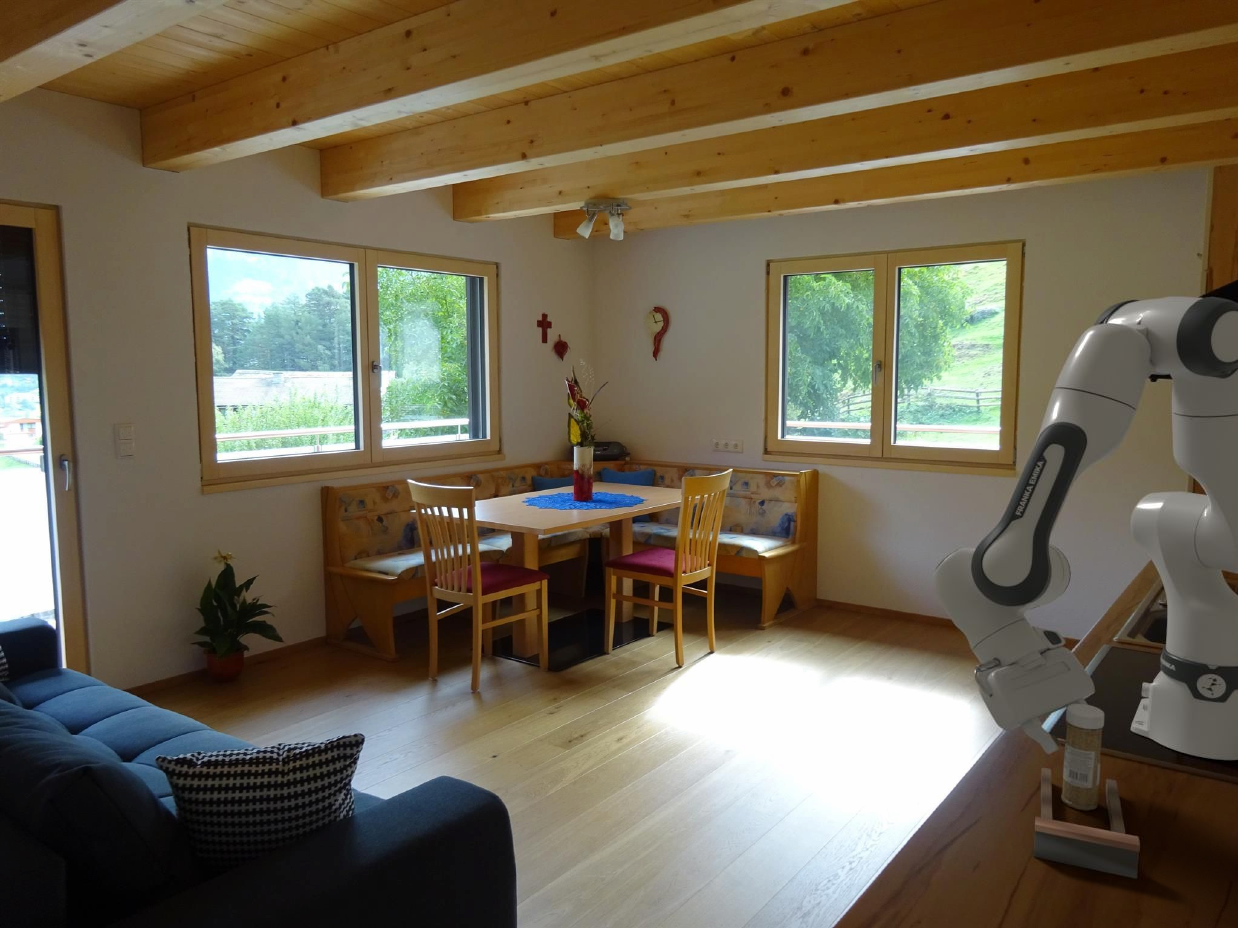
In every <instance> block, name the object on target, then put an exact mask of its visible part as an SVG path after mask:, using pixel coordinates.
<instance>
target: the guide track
mask: <svg viewBox="0 0 1238 928" xmlns="http://www.w3.org/2000/svg"><path fill="white" fill-rule="evenodd" d="M1117 783H1118V782H1117V780H1115V779H1110V778H1106V780H1105V798H1106V805H1107V806H1106V807H1107V813H1108V821H1109V826H1110V830H1105V829H1102V828H1101V829H1100V828H1096V827H1091V826H1087V825H1081V824H1080V825H1079V824H1075V823H1071V822H1065V821H1062V820H1055V819H1053V803H1052V802H1053V798H1052V793H1053V792H1052V789H1053V788H1052V769H1051V768H1046V767H1041V771H1040V816H1035V818H1034V819H1035V820H1034V840H1033V841H1034V842H1033V843H1034V844H1033V857H1034V858H1038V859H1043V860H1047V861H1052V862H1056V863H1061V864H1065V865H1070V866H1075V867H1080V868H1083V869H1084V868H1085V869H1090V870H1095V871H1099V872H1103V873H1108V874H1114V875H1117V876H1122V877H1128V878H1131V879H1135V880H1137V879H1138V870H1139V869H1138V867H1139V858H1140V857H1139V856H1140V850H1141V844H1140V838H1139V836H1137V835H1132V834H1126V828H1125V823H1124V817H1123V812H1122V806H1121V799H1120V794H1119V790H1118V784H1117Z"/></svg>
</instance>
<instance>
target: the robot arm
mask: <svg viewBox="0 0 1238 928" xmlns="http://www.w3.org/2000/svg"><path fill="white" fill-rule="evenodd" d="M1151 375H1160V376H1165V375H1170V377H1171V379H1172V389H1171V390H1172V391H1171V427H1172V432H1171V433H1172V454H1173V458H1174V460H1175V463H1176V464H1177V465H1178V467H1179V468H1180V470H1183V472H1185V473H1186V474H1188V475H1189V476H1191V477H1192V478H1193V479H1194V480H1195V481H1197V483H1198V484H1199V485H1200V486H1201V488H1202V489H1203V490H1204V492H1205V494H1201V493H1195V492H1194V493H1193V492H1189V491H1179V490H1178V491H1160V492H1159V491H1158V492H1150V493H1148V494H1147V495H1145V496H1144V497H1142V498H1141V499H1140V500H1139V501H1138V502H1137V503H1136V504H1135V507H1134V509H1133V511H1132V513H1131V516H1130V522H1129V523H1130V531H1131V535H1132V538H1133V539H1134V541H1135V543H1136V544H1137V545H1138V547H1140V548H1141V549H1142V550H1143V551H1144V553H1146V555H1148V557H1149V558H1150V560H1151V561H1152V563H1153V565H1154V566H1155V569H1156V570H1157V572H1158V574H1159V577H1160V579H1161V581H1162V585H1163V588H1164V591H1165V596H1166V603H1167V618H1166V619H1167V621H1166V623H1167V625H1166V641H1165V643H1166V644H1165V646H1163V648H1162V653H1161V655H1160V664H1159V665H1160V671H1159V673H1158V674H1157V675H1156V676H1155V678H1154V679H1153V682H1152V683H1150V682H1142V687H1141V697H1144V698H1142V699H1141V700H1140V703H1139V705H1138V708H1137V709H1136V713H1135V715H1134V718H1133V720H1132V722H1131V726H1130V731H1131V732H1133V733H1135V734H1137V735H1140V736H1144V737H1146V738H1149V739H1151V740H1153V741H1154V742H1156V743H1157V744H1160V745H1162V746H1163V747H1167V748H1169V749H1171V750H1174V751H1177V752H1179V753H1184V754H1186V755H1187V754H1188V755H1190V756H1194V757H1201V758H1206V759H1211V760H1222V761H1235V760H1236V761H1237V760H1238V594H1236V593H1235V592H1234V590H1232V588H1231V587H1230V586H1229V585H1228V583H1227V582H1226V579H1225V577H1224V575H1223V571H1225V572H1228V573H1234V574H1238V302H1236V301H1233V300H1231V299H1227V298H1222V297H1216V296H1209V297H1208V296H1206V297H1196V296H1184V295H1183V296H1181V295H1180V296H1179V295H1178V296H1176V295H1175V296H1173V295H1172V296H1169V295H1168V296H1164V297H1161V298H1148V299H1142V300H1139V299H1129V300H1125V301H1122V302H1118V303H1115V304H1113V305H1110V306H1109V307H1107V308H1106V309H1105V310H1104V311H1103V312H1102V313H1101V314H1100V315H1099V316H1098V318H1097V320H1096V321H1095V323H1094V324H1093V325H1092V326H1091V327H1089V328H1087V329H1086V330H1085V331H1084V332H1083V333H1081V335H1080V336H1079V338H1078V339H1077V341H1076V343H1075V345H1074V346H1073V348H1072V350H1071V351H1070V353H1069V355H1068V357H1067V359H1066V361H1065V362H1064V364H1063V367H1062V368H1061V371H1060V373H1059V375H1058V378H1057V380H1056V382H1055V385H1054V388H1053V391H1052V392H1051V396H1050V399H1049V401H1048V404H1047V407H1046V411H1045V413H1044V415H1043V420H1042V423H1041V426H1040V430H1039V432H1038V435H1037V437H1036V440H1035V443H1034V446H1033V450H1032V452H1031V453H1030V455H1029V458H1028V459H1027V462H1026V464H1025V465H1024V468H1023V469H1022V470H1023V471H1022V473H1021V475H1020V477H1019V480H1018V482H1017V484H1016V487H1015V489H1014V491H1013V493H1012V496H1011V497H1010V500H1009V503H1008V504H1007V507H1006V509H1005V511H1004V513H1003V514H1002V517H1001V519H1000V521H998V523H997V525H996V526H995V527H994V528H993V529H992V530H991V531H990V532H989V533H988V534H987V535H986V536H985V537H984V538H983V539H982V540H981V541H980V543H979V544H978V545H977V546H976V548H975V547H960V548H957V549H956V550H954V551H953V552H951V553H949V554H948V555H946V557H944V558H943V559H942V560H941V561H940V563H938V565H937V566H936V568H935V570H934V571H933V574H932V578H931V580H932V585H933V589H934V590H935V591H934V592H935V593H936V595H937V597H938V600H939V601H940V603H941V605H942V606H943V608H944V610H945V612H946V613H947V614H948V617H950V619H951V621H952V622H953V624H954V625H955V627H957V628H958V630H960V631H961V632H962V633H963V634H964V635H965V637H966V639H967V641H968V644H969V647H970V650H972V652H973V653H974V655H975V656H976V658H977V659H978V661H979V662H980V663H978V664H976V665H975V667H974V671H973V672H974V673H973V674H974V676H973V678H974V680H975V683H976V684H977V686H978V687H977V688H978V692H979V694H980V697H981V698H982V701H983V702H984V704H985V706H986V708H987V710H988V712H989V713H990V715H991V716H992V719H993V720H994V722H995V723H996V725H997V726H998V727H999V728H1001V729H1002V730H1003V731H1005V732H1009V731H1012V730H1014V729H1017V728H1019V727H1021V728H1022V730H1023V731H1024V733H1025V734H1026V735H1027V736H1029V737H1030V738H1031V739H1033V740H1035V742H1037V743H1038V744H1039V745H1040V746H1041V747H1042V749H1043V751H1044V752H1045V753H1046V754H1047V755H1050V754H1052V753H1055V752H1057V751H1058V750H1060V749H1061V748H1062V747H1063V745H1062V744H1061V742H1060V741H1059V739H1058V737H1057V736H1056V734H1054V735H1051V734H1050V733H1049V732H1048V731H1047V730H1046V729H1045V728H1044V727H1043V726H1042V725H1043V723H1042V721H1041V720H1040V719H1041V718H1043V717H1045V716H1048V715H1050V714H1053V713H1055V712H1058V711H1060V710H1063V709H1065V708H1067V707H1068V706H1069V705H1072V704H1085V705H1089V704H1088V703H1087V701H1086V700H1085V699H1087V698H1088V697H1090V696H1091V695H1093V694H1094V693H1095V692H1096V690H1095V685H1094V681H1093V679H1092V678H1091V677H1090V674H1089V673H1088V672H1087V671H1086V669H1085V667H1084V666H1083V665H1082V663H1081V662H1080V661H1079V659H1078V658H1077V656H1076V655H1075V654H1074V653H1073V652H1072V650H1070V649H1069V648H1066V647H1065V646H1063V645H1065V644H1066V640H1065V638H1064V637H1063V635H1062V634H1061V633H1060V632H1059V631H1057V630H1053V629H1051V630H1050V629H1046V628H1041V627H1038V626H1034V625H1033V626H1032V625H1031V623H1030V622H1029V620H1028V619H1027V617H1025V613H1026V612H1027V611H1030V610H1033V609H1035V608H1039V607H1041V606H1044V605H1048V604H1051V603H1052V602H1055V601H1056V600H1057V599H1058V598H1060V597H1061V596H1062V595H1063V594H1064V593H1065V592H1066V590H1067V588H1068V587H1069V584H1070V582H1071V577H1072V576H1071V575H1072V574H1071V573H1072V572H1071V571H1072V570H1071V566H1070V563H1069V561H1068V558H1067V556H1066V555H1065V554H1064V553H1063V551H1061V550H1060V549H1059V548H1058V547H1056V545H1053V544H1051V536H1052V534H1053V531H1054V528H1055V526H1056V524H1057V522H1058V520H1059V516H1060V515H1061V512H1062V510H1063V507H1064V506H1065V503H1066V500H1067V499H1068V497H1069V494H1070V491H1071V490H1072V487H1073V486H1074V484H1075V483H1076V481H1077V479H1078V478H1079V477H1080V476H1081V475H1082V474H1083V473H1084V472H1085V471H1086V470H1088V469H1089V468H1091V467H1093V466H1095V465H1097V464H1099V463H1100V462H1103V461H1105V460H1108V459H1109V458H1111V457H1112V456H1114V455H1115V454H1116V452H1117V451H1118V449H1119V448H1120V446H1121V444H1122V443H1123V441H1124V440H1125V439H1126V436H1127V435H1128V433H1129V431H1130V428H1131V427H1132V424H1133V422H1134V419H1135V417H1136V413H1137V411H1138V409H1139V406H1140V402H1141V399H1142V397H1143V394H1144V390H1145V386H1146V382H1147V380H1148V379H1149V378H1150V377H1151Z"/></svg>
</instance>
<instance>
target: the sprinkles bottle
mask: <svg viewBox="0 0 1238 928" xmlns="http://www.w3.org/2000/svg"><path fill="white" fill-rule="evenodd" d="M1065 721H1066V733H1065V734H1066V736H1065V740H1064V741H1065V743H1064V758H1063V772H1062V779H1063V781H1062V793H1061V798H1060V799H1061V801H1062V802H1063V803H1064V804H1065V805H1067V806H1068V807H1070V808H1073V809H1076V810H1080V811H1093V810H1095V809H1097V807H1098V806H1099V802H1098V796H1099V795H1098V794H1099V793H1098V792H1099V784H1100V775H1101V773H1100V772H1101V751H1102V750H1101V748H1102V733H1103V732H1102V731H1103V727H1104V726H1105V712H1104V711H1103V710H1101V708H1099V707H1096V706H1094V705H1090V704H1088V705H1085V704H1072V705H1069V706H1068V707H1066V714H1065Z"/></svg>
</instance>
